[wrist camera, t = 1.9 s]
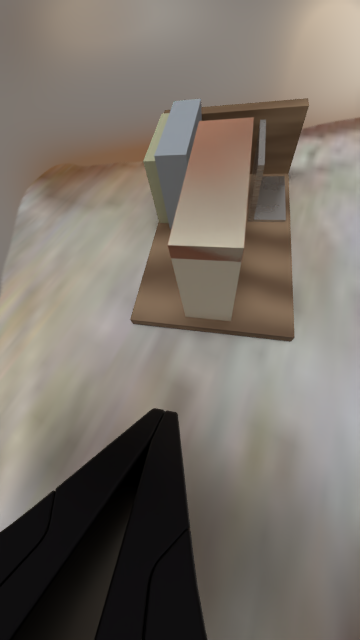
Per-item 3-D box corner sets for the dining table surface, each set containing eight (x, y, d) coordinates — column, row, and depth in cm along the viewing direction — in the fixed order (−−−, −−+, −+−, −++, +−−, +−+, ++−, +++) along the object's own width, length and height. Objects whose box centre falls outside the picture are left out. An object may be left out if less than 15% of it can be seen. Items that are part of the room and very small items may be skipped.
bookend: (285, 222, 26) (306, 163, 20) (248, 221, 27) (258, 165, 21) (284, 178, 29) (301, 116, 23) (251, 178, 30) (260, 119, 24)
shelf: (290, 341, 21) (331, 298, 14) (133, 323, 24) (99, 280, 17) (285, 173, 31) (308, 98, 24) (174, 176, 34) (165, 110, 27)
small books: (193, 229, 27) (186, 154, 20) (157, 228, 28) (137, 156, 21) (203, 177, 31) (200, 98, 24) (172, 178, 32) (160, 102, 25)
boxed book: (230, 321, 22) (244, 248, 13) (185, 316, 22) (167, 245, 14) (240, 218, 27) (253, 117, 18) (203, 218, 28) (199, 121, 19)
